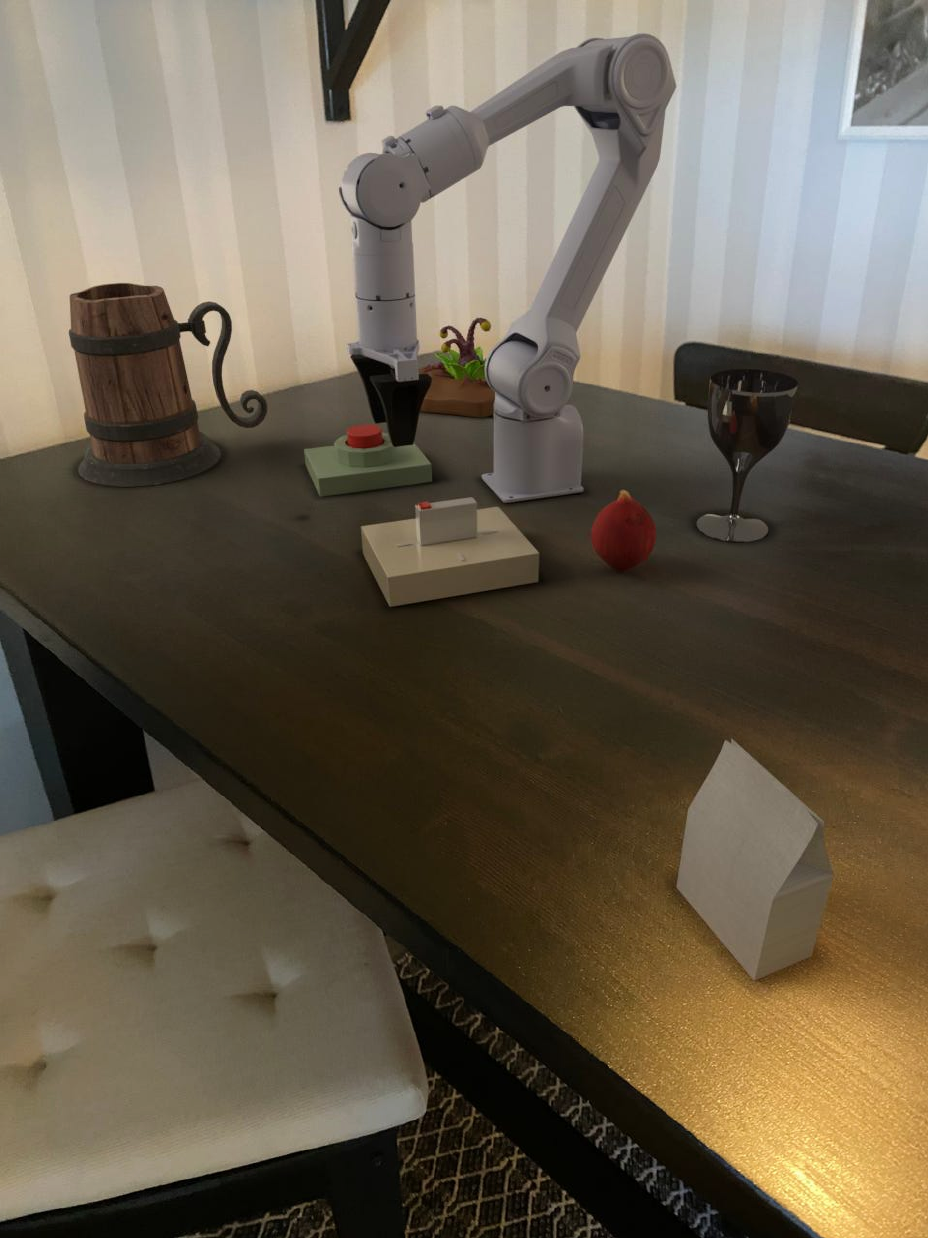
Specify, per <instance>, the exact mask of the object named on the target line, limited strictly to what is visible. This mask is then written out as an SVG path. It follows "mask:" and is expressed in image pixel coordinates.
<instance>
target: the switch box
mask: <svg viewBox="0 0 928 1238" xmlns="http://www.w3.org/2000/svg"><path fill="white" fill-rule="evenodd" d="M477 510H478V502H477V501H476V499H474V497H473V496H471V497H462V498H456V499H448V500H441V501H434V502H429V501H422V502H421V501H420V502H417V504H415V506H414V512H415V519H416V534H417V541H418V542H419V544H420V545H421V546H422V545H429V544H435V543H441V542H448V541H454V540H461V539H467V538H473V537H477Z"/></svg>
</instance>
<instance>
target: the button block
mask: <svg viewBox="0 0 928 1238" xmlns="http://www.w3.org/2000/svg"><path fill="white" fill-rule="evenodd" d="M382 440H383V444H382V445H380V446H377V447H374V448H366V449H361V448H353V447H350V446H348V439H347V434H345V435H342V436H339V437H338V438H337V439H336V440H335V441H334V445H327V446H319V447H309V448H304V449H303V453H304V454H303V455H304V462H305V467H306V469H307V472H308V474H309V476H310V478H311V480H312V483H313V484H314V487H315V489H316V491H317V493H318V495H319V497H320V498H323V497H329V496H335V495H337V496H338V495H345V494H352V493H360V492H367V491H374V490H375V491H376V490H381V489H389V488H396V487H397V488H398V487H403V486H412V485H419V484H427V483H432V482H433V466H432V463H431V462H430V460H429V459H428V458H427V457H426V456H425V454H424V452H422V450H421V448H419V447H418V446H417V444H416V443H415V442H414V443H413V445H407V446H399V447H394V446H393V445H392V443H391V440H390V437H389V433H385V432H382Z"/></svg>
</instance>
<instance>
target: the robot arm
mask: <svg viewBox="0 0 928 1238" xmlns="http://www.w3.org/2000/svg"><path fill="white" fill-rule="evenodd" d="M676 89H677V83H676V78H675V75H674V71H673V67H672V63H671V58H670V56H669V52H668V50H667V48H666V47H665V45H664V43H663V42H662V41H661V40H660V39H659V38H658V37H656V36H655V35H652V34H650V33H644V32H642V33H636V34H633V35H630V36H623V37H621V36H620V37H613V38H611V37H610V38H602V37H601V38H600V37H591V38H588V39H586V40H584V41H582V42H581V43H579V44H578V45H576V47H569V48H568V49H567V48H566V49H564V50H562V51H560V52H558V53H557V54H555V55H554V56H552V57H551V58H549V59H547V60H546V61H544V62H542V64H540V65H538V66H536V67H534V69H532V70H531V71H529V72H528V73H526V74H525V75H523V76H522V77H520V78H518V79H517V80H516V81H514V82H513V83H511V84H509V85H508V86H507V87H505V88H504V89H502V90H500V92H498V93H496V94H495V95H493V96H492V97H490V98H489V99H487V100H486V101H484V102H483V103H481V104H480V105H478V106H477V107H475V108H474V109H472V110H471V111H468V110H467V109H464V108H462V107H459V106H458V105H449V106H448V107H446V108H444V106H442V105H434V106H433V107H431V108H429V109H427V110H426V111H425V115H426V118H427V119H426V120H424V121H423V122H421V123H419V124H417V125H416V126H415V127H413V128H411V129H409V130H408V131H406V132H405V133H403V134H401V135H399V136H398V137H395V136H394V135H387V136H386V137H384V138H383V139H381V142H380V143H381V146H382V151H381V152H382V153H376V152H375V153H374V152H366V153H362V154H360V155H357V156H356V157H354V159H352V160H351V161H350V162H349V163H348V164H347V166H346V167H347V168H346V170H344V171H343V176H342V178H341V179H342V180H341V186H340V187H338V194H339V198H340V200H341V203H342V205H343V207H344V209H345V210H346V211H347V212H348V213H349V215H350V217H349V219H350V231H351V257H352V259H351V260H352V271H353V284H354V296H355V298H354V299H355V311H356V312H355V313H356V325H357V339H358V340H357V341H356V342H349V343H347V344H346V351H347V353H348V354H349V355H350V359H351V361H352V363H353V365H354V366H355V368H356V370H357V373H358V374H359V377H360V379H361V382H362V386H363V388H364V391H365V395H366V398H367V403H368V407H369V411H370V414H371V418H372V420H373V422H374V424H383V423H386V428H387V434H389V437H390V440H391V443H392V445H393V446H394V447H399V446H407V445H413V443H415V440H416V436H417V435H416V434H417V430H418V429H417V428H418V425H419V418H420V413H421V411H420V410H421V406H422V403H423V400H424V398H425V396H426V393H427V391H428V390H429V388H430V386H431V383H432V378H431V376H429V375H428V374H418V369H419V359H418V355H419V352H420V341H419V339H418V328H417V327H418V326H417V305H416V303H417V302H416V283H415V282H416V281H415V260H414V259H415V258H414V256H415V255H414V242H413V225H412V220H413V219H414V218H415V217H416V215H417V213H418V211H419V209H420V207H421V204H423V203H426V202H428V201H429V200H431V199H433V198H435V197H437V195H439V194H440V193H443V192H444V191H445V190H448V189H449V188H450V187H453V186H454V185H455V184H457V183H459V182H460V181H462V180H464V179H466V178H467V177H469V176H470V175H472V174H474V173H475V172H477V171H478V170H481V168H482V166H483V165H484V161H485V158H486V155H487V151H488V149H489V147H490V146H492V145H494V144H495V143H497V142H499V141H501V140H503V139H505V138H507V137H508V136H510V135H512V134H514V133H516V132H517V131H519V130H521V129H523V128H525V127H527V126H528V125H531V124H532V123H534V122H536V121H538V120H540V119H541V118H543V117H545V116H547V115H549V114H551V113H553V112H554V111H556V110H558V109H560V108H563V107H574V109H575V111H576V112H577V114H578V115H579V117H580V119H581V120H582V121H583V123H584V125H585V126H586V127H587V129H588V131H589V133H590V134H591V135H592V139H593V142H594V145H595V148H596V151H597V152H596V153H597V154H598V162H597V164H596V166H595V168H594V171H593V173H592V175H591V176H590V179H589V181H588V183H587V185H586V188H585V190H584V192H583V194H582V196H581V198H580V201H579V203H578V205H577V207H576V210H575V211H574V214H573V215H572V217H571V220H570V222H569V224H568V226H567V228H566V231H565V233H564V235H563V237H562V239H561V242H560V243H559V246H558V248H557V250H556V252H555V254H554V256H553V258H552V260H551V263H550V265H549V267H548V269H547V271H546V274H545V276H544V278H543V280H542V282H541V283H540V286H539V289H538V290H537V293H536V295H535V297H534V299H533V302H532V304H531V305H530V308H529V309H528V310H527V311H526V312H525V313H523V314H522V315H520V316H519V317H517V318H516V319H515V320H513V322H511V324H510V325H509V328H508V330H507V332H506V334H505V335H504V336H503V338H502V339H501V340H500V341H498V342H497V344H495V345H494V346H493V347H492V348H491V349H490V351H489V353H488V354H487V356H486V358H487V359H486V358H485V359H486V362H485V377H486V380H487V383H488V384H489V386H490V387H491V389H492V390H494V391H495V402H494V415H493V472H488V473H483V474H481V479H482V480H483V482H484V483H485V484H486V485H487V486H488V487H489V488H490V490H492V491H493V493H494V494H495V495H496V496H497V497H498V498H499V499H500V501H502V503H504V504H508V503H509V504H510V503H515V502H516V503H517V502H524V501H530V500H537V499H545V498H551V497H552V498H553V497H559V496H565V495H572V494H579V493H583V492H584V487H583V486H582V473H583V472H582V471H583V469H582V468H583V455H584V454H583V451H584V427H583V421H582V418H581V415H580V413H579V411H578V409H577V408H576V407H575V406H574V405H571V404H567V403H568V402H569V400H570V398H571V395H572V393H573V388H574V375H575V371H576V369H577V366H578V364H579V361H580V360H581V351H580V346H579V341H578V337H577V332H578V331H579V328H580V326H581V324H582V322H583V320H584V318H585V316H586V313H587V312H588V310H589V308H590V305H591V304H592V301H593V300H594V297H595V296H596V293H597V291H598V289H599V287H600V285H601V283H602V281H603V279H604V278H605V277H604V276H605V274H606V272H607V271H608V269H609V267H610V264H611V263H612V260H613V258H614V256H615V255H616V252H617V250H618V247H619V245H620V244H621V242H622V240H623V238H624V235H625V233H626V232H627V230H628V228H629V225H630V223H631V221H632V219H633V217H634V215H635V213H636V211H637V209H638V207H639V205H640V202H641V200H642V198H643V197H644V194H645V193H646V190H647V188H648V186H649V184H650V182H651V180H652V178H653V176H654V174H655V172H656V170H657V168H658V165H659V162H660V161H661V151H662V144H663V137H664V127H665V119H666V110H667V107H668V105H669V103H670V101H671V99H672V97H673V95H674V93H675V92H676Z"/></svg>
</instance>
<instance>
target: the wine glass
mask: <svg viewBox="0 0 928 1238" xmlns="http://www.w3.org/2000/svg"><path fill="white" fill-rule="evenodd" d="M708 384H709V385H708V393H707V404H706V405H707V422H708V430H709V434H710V438H711V440H712V442H713V444H714V445H715V446H716V448H717V449H718V451H719V452H720V453H721V454H722V456H723V457H724V459H725V460H726V461H727V464H728V465H729V468H730V470H731V474H732V475H731V476H732V494H731V495H732V496H731V503H730V504H731V505H730V510H729V511H719V512H718V511H717V512H710V513H707V514H704V515H702V516H700V517H699V518H698V519H697V520H696V522H695V525H696V526H695V527H696V528H697V530H698V531H700V533H702V534H704V535H705V536H707V537H710V538H711V539H716V540H719V541H723V542H732V543H749V542H754V541H758V540H761V539H764V538H765V537H766V536H767V535H768V533H769V527H768V525H767V524H766V523H765V522H764V521H763V520H761V519H759V518H756V517H754V516H752V515H748V514H746V513H740V512H739V509H740V503H741V497H742V493H743V489H744V487H745V483H746V480H747V477H748V475H749V473H750V472H751V471H752V469H753V468H754V466H756V465H757V463H759V462H760V461H761V460H762V459H764V458H765V457H766V456H767V455H769V454H770V453H771V452H772V451H773V450H775V449H776V447H777V446H779V444H780V443H781V442H782V440H783V438H784V437H785V434H786V432H787V429H788V427H789V425H790V422H791V419H792V416H793V414H794V409H795V404H796V399H797V394H798V390H799V389H798V387H799V381H798V380H797V379H796V378H794V377H792V376H790V375H787V374H785V373H781V372H776V371H773V370H764V369H754V368H753V369H752V368H751V369H750V368H738V369H727V370H721V371H718V372H715V373H714V374H712V375H711V376H710V378H709V383H708Z"/></svg>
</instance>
